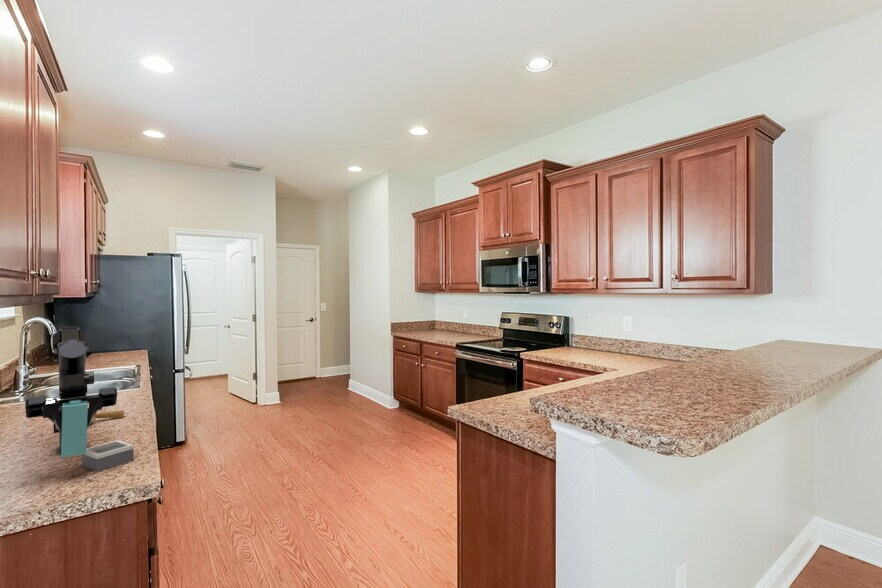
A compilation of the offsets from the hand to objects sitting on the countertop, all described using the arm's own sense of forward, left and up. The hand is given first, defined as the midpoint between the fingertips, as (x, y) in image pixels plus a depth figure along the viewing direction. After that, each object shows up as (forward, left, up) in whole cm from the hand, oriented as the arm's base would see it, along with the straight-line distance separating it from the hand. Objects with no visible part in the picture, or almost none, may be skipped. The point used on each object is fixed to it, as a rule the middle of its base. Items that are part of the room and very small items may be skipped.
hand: (74, 428), depth 112 cm
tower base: (-6, +8, -13) cm, 16 cm away
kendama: (-59, +14, -13) cm, 62 cm away
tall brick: (-1, 0, -7) cm, 7 cm away
